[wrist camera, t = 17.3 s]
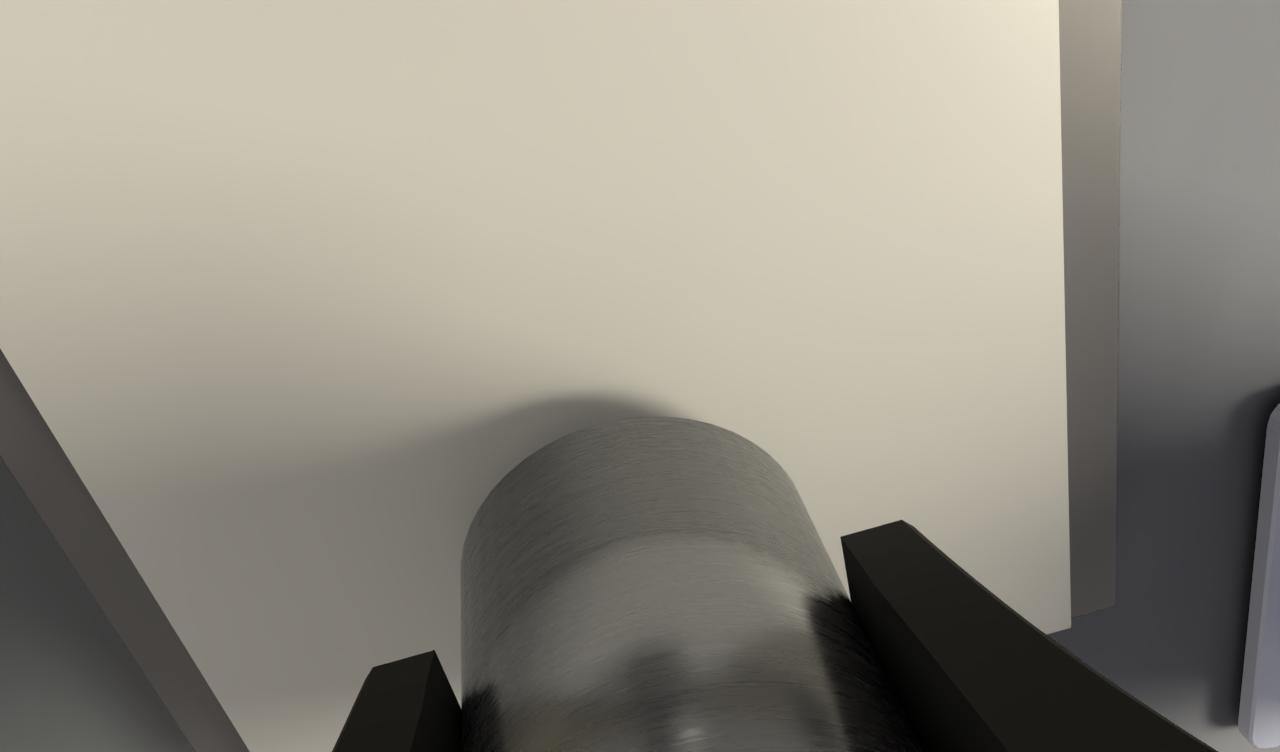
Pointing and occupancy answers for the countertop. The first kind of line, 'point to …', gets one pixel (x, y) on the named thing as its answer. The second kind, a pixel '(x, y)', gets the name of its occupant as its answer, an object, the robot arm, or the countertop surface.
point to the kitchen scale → (537, 297)
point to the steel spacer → (661, 606)
